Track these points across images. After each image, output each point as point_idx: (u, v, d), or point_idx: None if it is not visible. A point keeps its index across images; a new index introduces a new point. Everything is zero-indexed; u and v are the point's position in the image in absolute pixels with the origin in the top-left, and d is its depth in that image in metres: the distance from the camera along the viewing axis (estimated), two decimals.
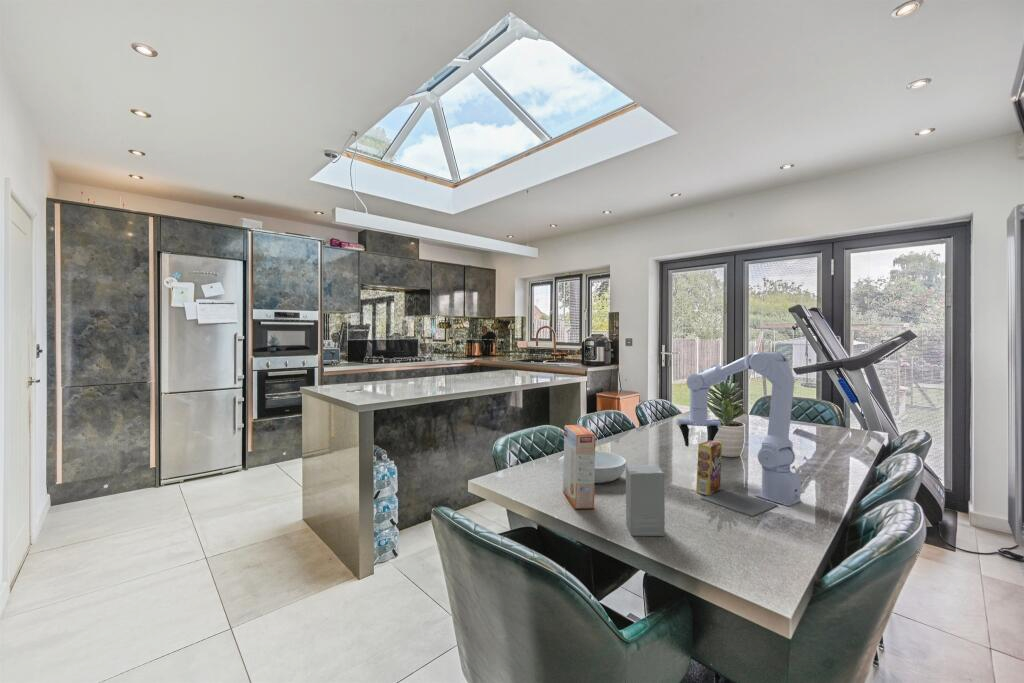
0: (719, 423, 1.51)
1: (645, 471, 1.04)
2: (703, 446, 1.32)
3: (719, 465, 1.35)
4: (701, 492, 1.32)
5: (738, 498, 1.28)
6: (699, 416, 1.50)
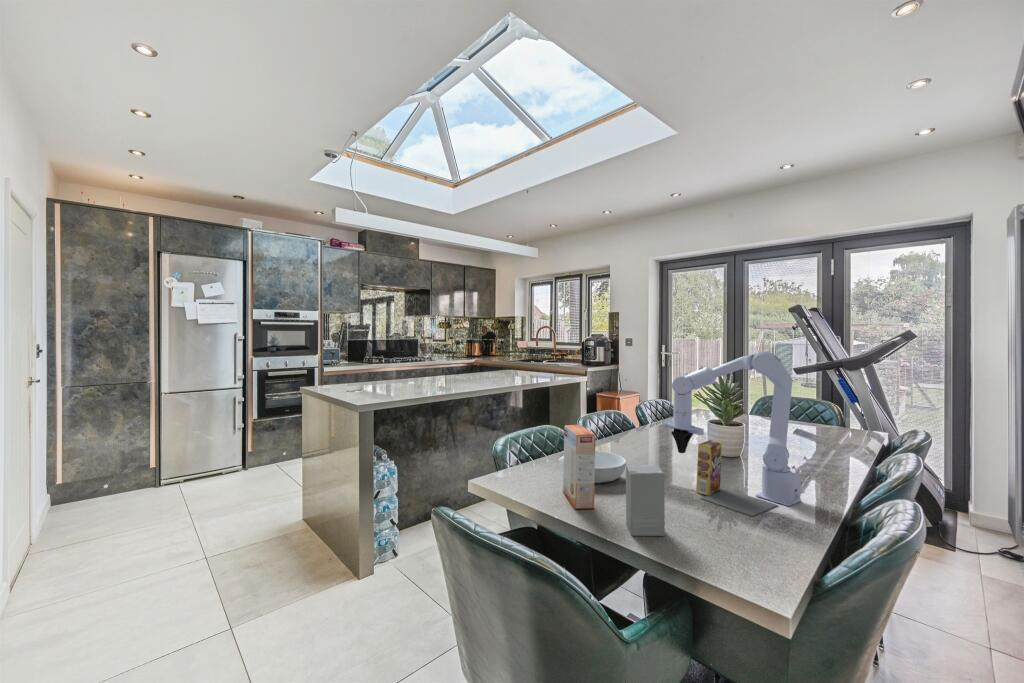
0: (698, 431, 1.39)
1: (645, 471, 1.04)
2: (703, 446, 1.32)
3: (719, 465, 1.35)
4: (701, 492, 1.32)
5: (738, 498, 1.28)
6: (675, 419, 1.44)
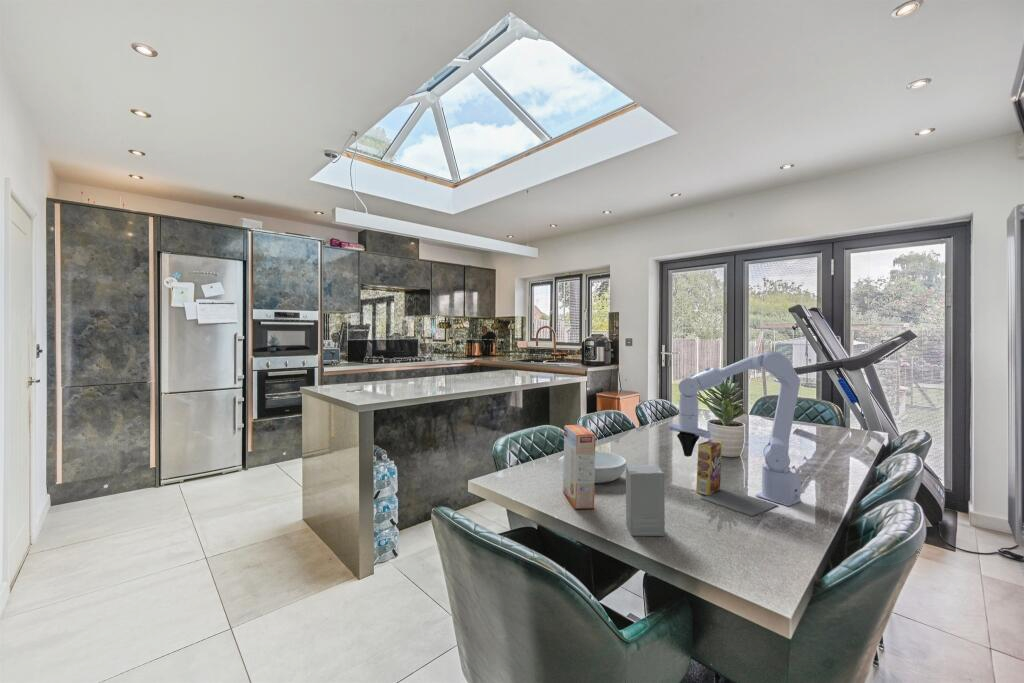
0: (705, 434, 1.35)
1: (645, 471, 1.04)
2: (703, 446, 1.32)
3: (719, 465, 1.35)
4: (701, 492, 1.32)
5: (738, 498, 1.28)
6: (681, 422, 1.40)
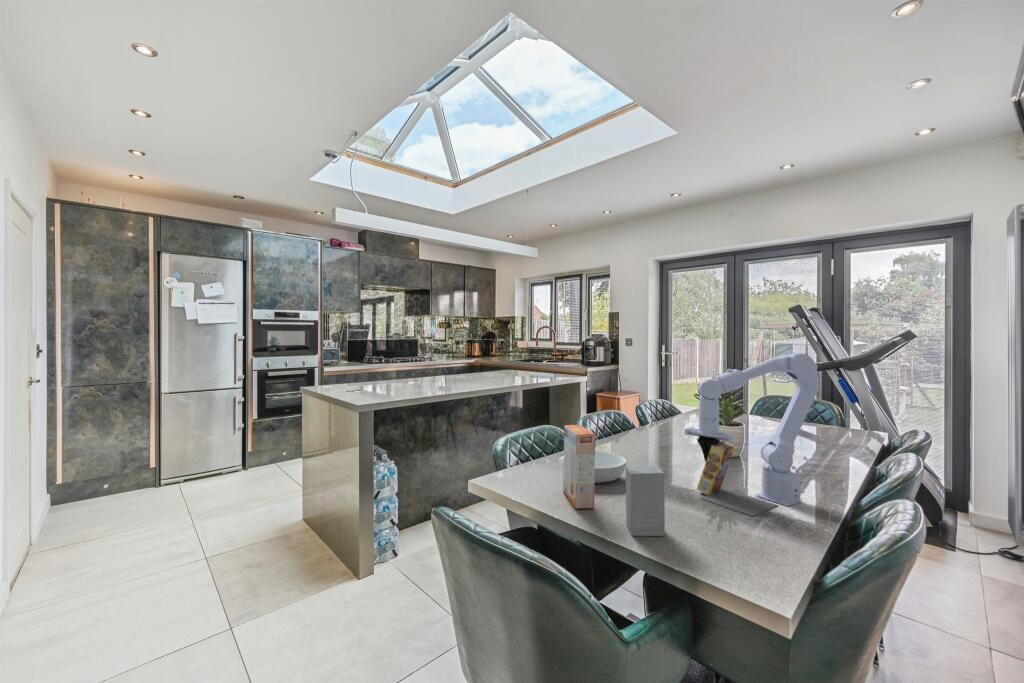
0: (730, 438, 1.30)
1: (645, 471, 1.04)
2: (716, 448, 1.29)
3: (726, 467, 1.34)
4: (702, 490, 1.32)
5: (738, 498, 1.28)
6: (703, 426, 1.34)
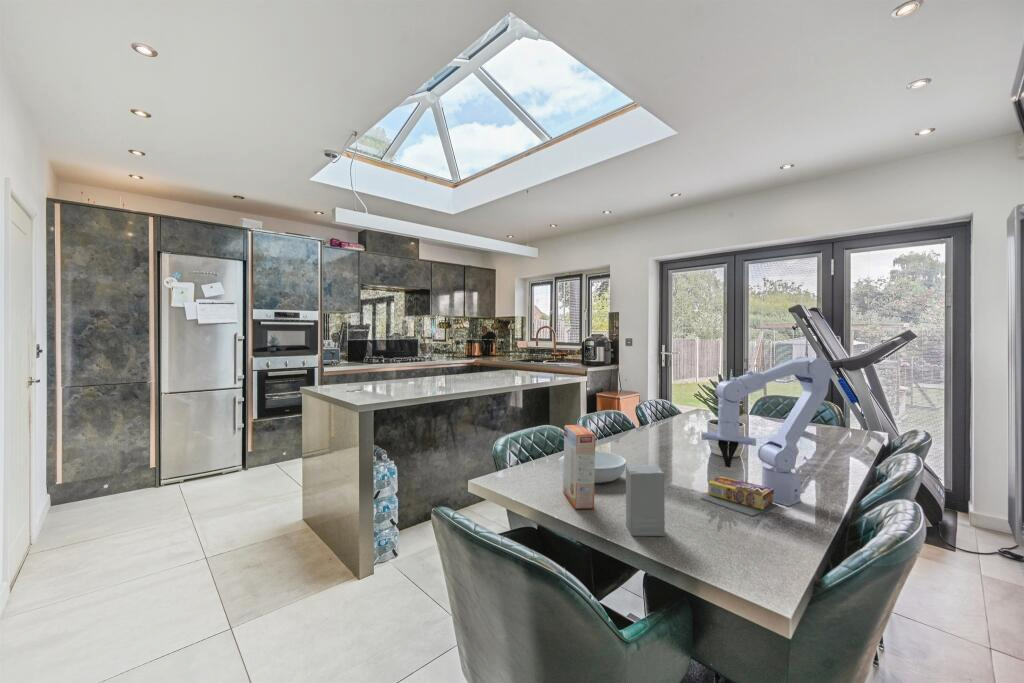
0: (753, 441, 1.26)
1: (645, 471, 1.04)
2: (761, 501, 1.20)
3: None
4: (709, 487, 1.30)
5: None
6: (725, 430, 1.28)
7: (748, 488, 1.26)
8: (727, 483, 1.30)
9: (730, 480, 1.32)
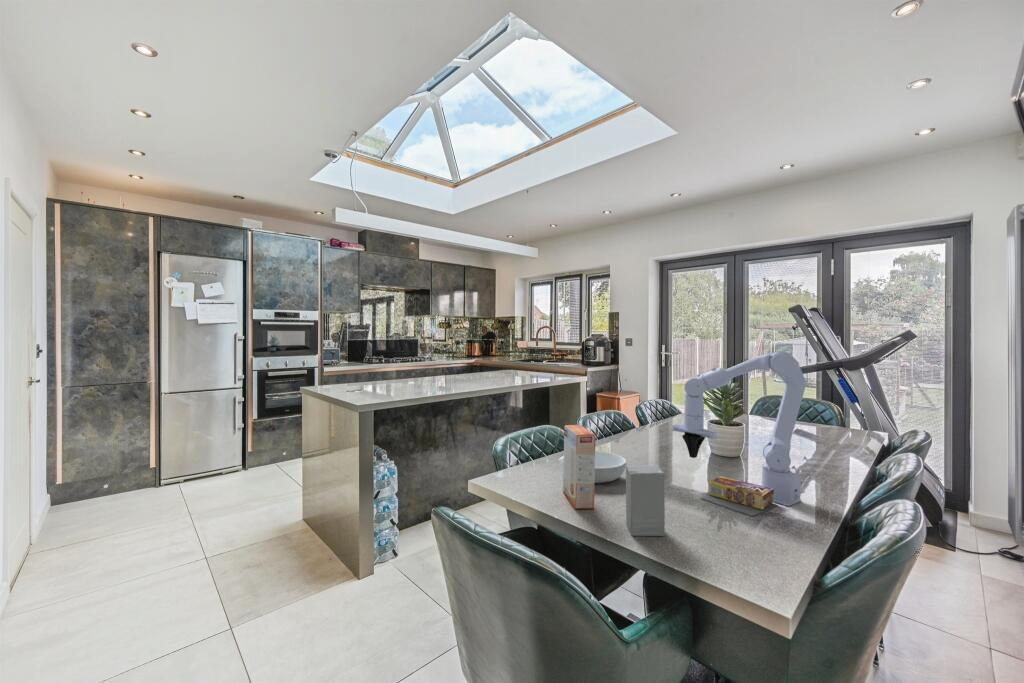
0: (711, 435, 1.33)
1: (645, 471, 1.04)
2: (761, 501, 1.20)
3: None
4: (709, 487, 1.30)
5: None
6: (687, 423, 1.38)
7: (748, 488, 1.26)
8: (727, 483, 1.30)
9: (730, 480, 1.32)
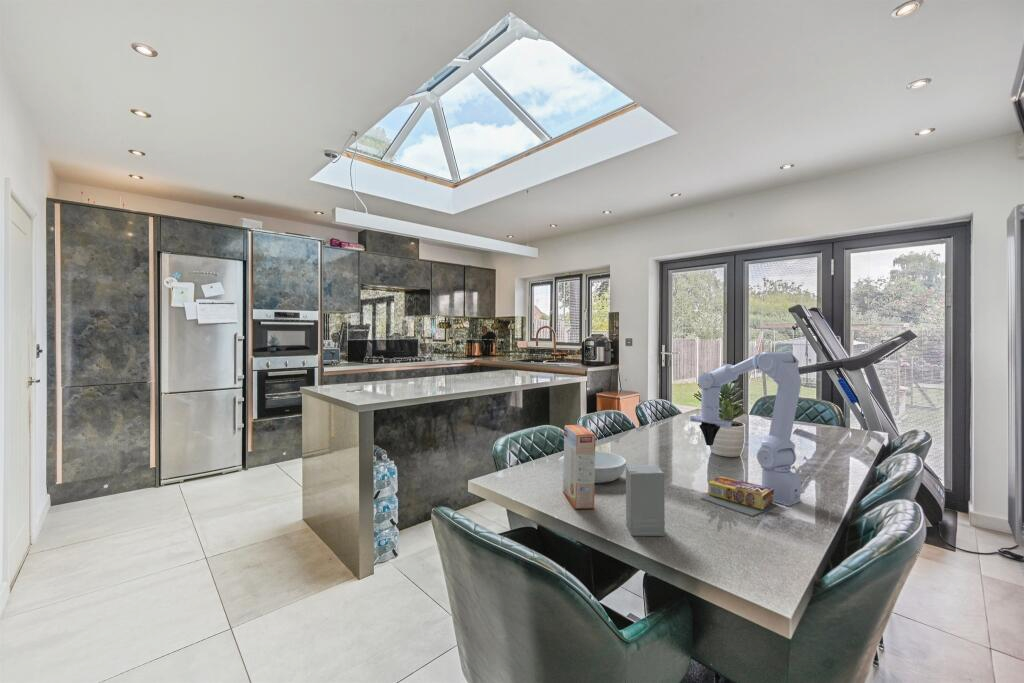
0: (726, 424, 1.46)
1: (645, 471, 1.04)
2: (761, 501, 1.20)
3: None
4: (709, 487, 1.30)
5: None
6: (703, 413, 1.51)
7: (748, 488, 1.26)
8: (727, 483, 1.30)
9: (730, 480, 1.32)
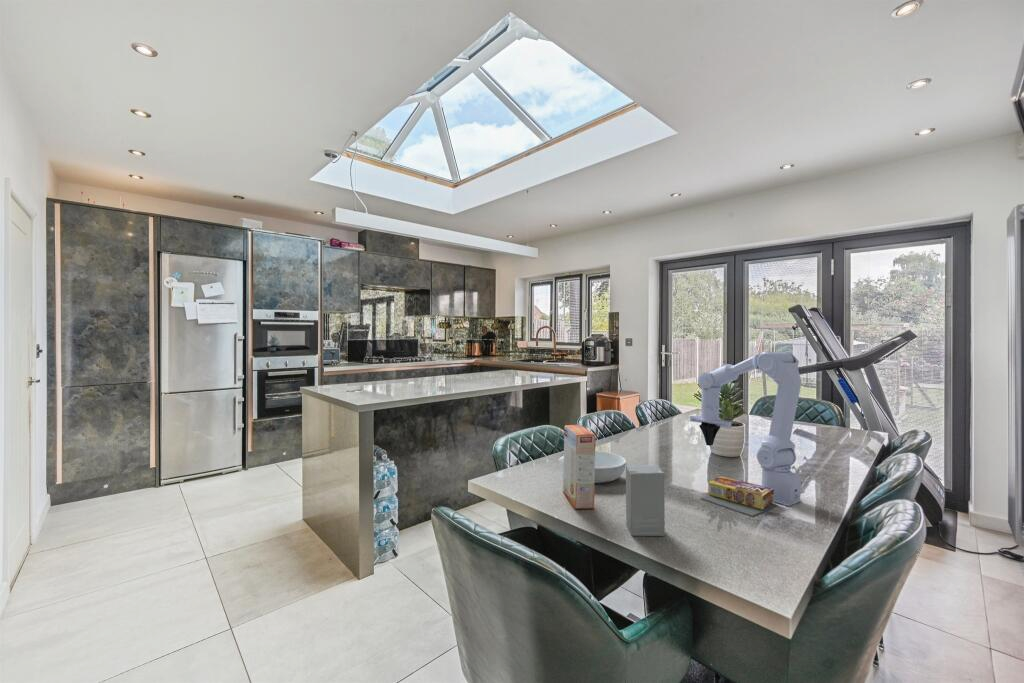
0: (726, 424, 1.46)
1: (645, 471, 1.04)
2: (761, 501, 1.20)
3: None
4: (709, 487, 1.30)
5: None
6: (703, 413, 1.51)
7: (748, 488, 1.26)
8: (727, 483, 1.30)
9: (730, 480, 1.32)
